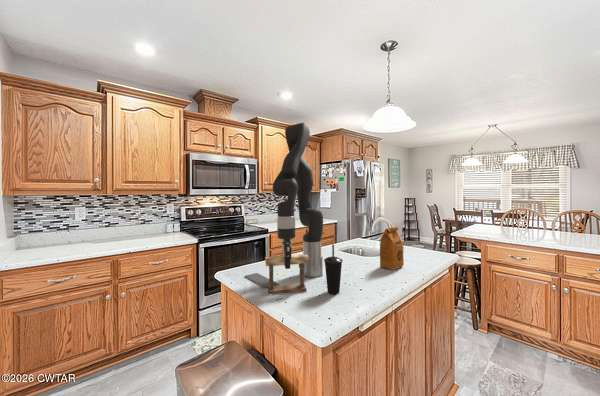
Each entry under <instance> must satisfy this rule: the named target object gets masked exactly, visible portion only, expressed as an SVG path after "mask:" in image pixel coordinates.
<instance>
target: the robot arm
mask: <svg viewBox="0 0 600 396" xmlns="http://www.w3.org/2000/svg"><path fill="white" fill-rule="evenodd" d="M284 132H285V133H284V136H285V140H286V144H287V148H288V153H287V154H286V156H285V157H284V159H283V163H282V166H281V169H280V171H279V173H278V174H277V176H276V177H275V180H274V181H273V184H272V192H273V194H274V195H275V196H277V197H287V198H286V200H284V201H279V202H278V203H277V205H276V206H277V208H276V209H277V218H276V219H277V221H276V225H277V227H276V228H277V230H276V231H277V239H280V240H282V241H281V248H282V249H281V251H282V255H283V256H284V257H285V258H284V259H285V265H283V266H284V269H285V270H289V269H291V265H290V260H291V256H292V253H293V252H292V251H293V250H292V249H293V244H292V241H291V240H293V239H295V238H296V218H295V202H296V199H297V203H298V204H297V205H298V215H299V216H298V217H299V221H300V224H301V225H302V226H303V227H307V228H308V230H307V232H306V233H305V234H303V236H302V255H308V256H309V263H308V264H305V271H304V277H306V278H307V277H308V278H317V277H320V276H323V275H324V274H323V272H324V271H323V264H324V263H323V255H322V238H323V237H322V236H323V234H324V233H323V232H324V231H323V230H324V215H323V213H322V211H321V210H319V209H317V208H312V206H311V193H312V191H313V187H314V176H313V171H312V170H313V169H312V167H311V166H310V164H309V163H308V162H307V161H306V159H305V158H303V154H304V152H305V149H306V147H307V145H308V143H309V140H310V136H311V134H310V133H311V132H310V128H309V126H308V124H307V123H305V122H298V123H296V124H291V125H288V126H286V127H285V129H284ZM286 256H287V257H286Z"/></svg>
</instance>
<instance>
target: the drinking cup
mask: <svg viewBox="0 0 600 396" xmlns="http://www.w3.org/2000/svg"><path fill="white" fill-rule="evenodd" d="M331 247H332V249H331V250H332V251H331V254H332V256H328V257H326V258H324V260H323V261H324V266H325V279H326V286H327V287H326V288H327V293H328V294H329V295H333V296H334V295H338V294H340V290H341V289H340V288H341V278H342V277H341V275H342V264H343V261H344V260H343V259H342V258H340V257H338V256H335V245H334V244H331Z"/></svg>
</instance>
